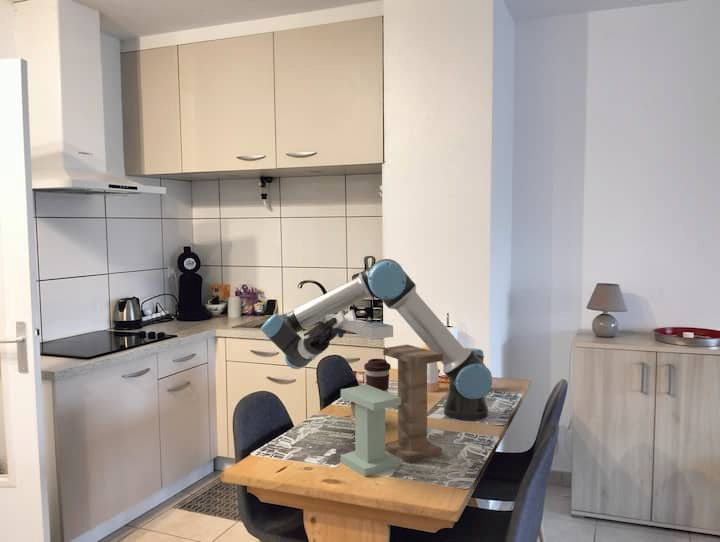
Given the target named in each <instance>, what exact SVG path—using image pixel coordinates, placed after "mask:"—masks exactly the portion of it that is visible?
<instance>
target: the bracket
mask: <svg viewBox="0 0 720 542" xmlns="http://www.w3.org/2000/svg"><path fill="white" fill-rule="evenodd" d="M336 314H337V313H335V314H330V315H326V318H325V322H326V321H329V320H331V319H332V318H333V317H334V316H335V315H336ZM344 317H345V315H344ZM336 328H339V329H343V330H347V332H351V333H355V334H356V336H357V337H361V338H364V339H367V340H379V339H387V338H393V337H394V325H391V324H387V323H383V322H379V321H377V322H371V321H365V320H361V319H357V318H356V319H353V318H349V317H345V320H344V321H343V322H342V323H340V324H339V325H338V326H337V327H336Z"/></svg>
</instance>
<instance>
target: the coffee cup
mask: <svg viewBox="0 0 720 542" xmlns="http://www.w3.org/2000/svg"><path fill="white" fill-rule="evenodd" d="M363 366H364V367H363V368H364V370H365V382H366V383H365V385H369V386H372V387H375V388H377V389H380V390H382V391H385V392H388V390H389V385H390V384H389V383H390V382H389V381H390V370H391V364H390V363H388V361H387V360H386V359H384V358H371V359H368V361H367V362H366V363H364V365H363ZM388 393H389V392H388Z"/></svg>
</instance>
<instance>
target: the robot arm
mask: <svg viewBox="0 0 720 542" xmlns="http://www.w3.org/2000/svg"><path fill="white" fill-rule="evenodd" d="M416 288H417V285H416V283H415V282H414V281H413V280H412V278H411V277H410V276H409V275H408V274H407V273H406V272H405V271H404V268H403V267H402V266H401V265H400V263H398V262H397V261H396V260H394V259H390V258H384V259H383V258H382V259H380V260H378V261H376V262H375V263H374V264H372V265H371V266H370V267H368V268H366V269H365V270H363V271H361V272H359V274H358V276H357V277H356V278H354V279H351V280H350V281H348V282H346V283H344V284H342V285H340V286H338V287H336V288H334V289H332V290H330V291H328V292H327V293H325V294H322V295H321V296H318V297H317V298H314V299H313V300H311V301H308V302H306V303H305V304H303V305H301V306H299V307H297V308H295V309H293V310H291V311H289V312H287V313H283V314H282V315H279V313H278V314H277V313H274V314H273V315H271V317H269V318H268V319H267V320H266V321H265V323H263V325H262V326H261V328H260V329H261V332H262V333H263V334H264V335H265V336H266V338H267V339H269V340H270V341H271V342H272V343H274V345H275V346H276V347H277V348H278V349H280V350H281V351H282V353H283V354H284V360H285V363H286V365H287V366H288V367H290V368H291V369H293V370H300V369H302V368H304V367H307V365H308V364H310V363H311V362H312V361H314V360H315V358H317V357H319V355H321V354H322V353H324V352H325V350H326V349H328V348H329V346H330V342H331V341H332V340H334V339H335V338H336V337H338V338H340V339H342V338H343V337H344V335H345V334H346V333H347V332H348V331H347V330H343V329H339V328H336V327H337V326H338V325H339V324H340V323H342V322H343V321H344V320H345V317H349V318H353V319H357V316H356V314H355V310H354V309H350V310H349V311H348V312H347V313H345V314H344V311H343V310H345V309H346V308H349V307H352V306H353V305H355V304H357V303H359V302H361V301H363V300H364V299H367V298H371V299H373V298H374V297H377V298H379V299H380V301H382V302H383V304H384V305H385V306H386V307H387V309H391V310H396V311H397V312H398V314H399V315H400V316H401V317H402V319H403V320H404V321H406V323H407V324H408V325H409V327H410V328H411V329H412V330H413V331H414V333H415V334H416V335H417V336H418V337H419V338H420V339H421V341H422V342H423V343H424V345H425V344H426V345H427V346H428V347H429V349H430V350H431V351H434V352H438V353H442V354H443V361H440V363H441V364H442V366H443V367H442V372H443V373H444V375H446V377H447V378H448V379H449V380H448V381H449V382H448V384H449V385H448V387H449V389H448V393H447V396H446V400H445V403H444V405H443V414H444V415H445V417H448V418H451V419H454V420H459V421H480V420H483V419H486V418H487V417H488V416H489V408H488V404H487V401H486V398H485V396H486V395H487V394H488V393H489V392H490V390H491V389H492V385H493V375H492V373H491V371H490V369H489V368H488V367H487V366H486V364H485V363H484V358H485V354H484V351H483V349H481V348H480V349H479V348H473V347H472V348H471V347H464V346H463V345H462V344H461V343H460V342H459V341H458V340H457V338H456V337H455V335H453V334H452V332H451V331H450V329H448V327H446V325H445V324H444V323H443V322H442V321H441V320H440V319H439V317H438V316H437V315H436V314H435V312H434V311H433V310H432V309H431V308H430V307H429V305H428V304H427V303H426V302H425V301H424V300H423V299H422V297H421V296H420V295H419V294H418V293H417V292H416V290H417V289H416ZM330 314H336V315H335V316H334V317H333V318H332V319H331V320H329V321H326V315H330ZM344 316H345V317H344ZM323 320H325V322H324V321H323ZM317 323H318V324H317ZM315 324H316V325H315ZM312 325H315V326H314V327H312V328H311V329H310V330H309V331H307V332H305V333H303V337H301V336H300V334H298V333H299V332H301V331H303V330H304V329H306V328H309V327H310V326H312Z"/></svg>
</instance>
